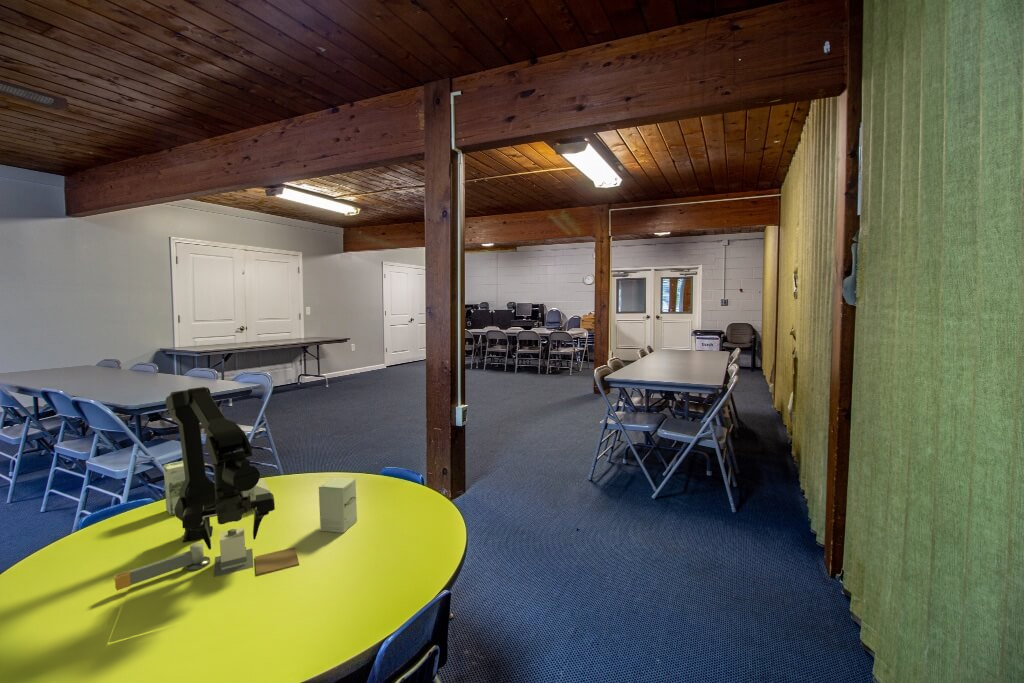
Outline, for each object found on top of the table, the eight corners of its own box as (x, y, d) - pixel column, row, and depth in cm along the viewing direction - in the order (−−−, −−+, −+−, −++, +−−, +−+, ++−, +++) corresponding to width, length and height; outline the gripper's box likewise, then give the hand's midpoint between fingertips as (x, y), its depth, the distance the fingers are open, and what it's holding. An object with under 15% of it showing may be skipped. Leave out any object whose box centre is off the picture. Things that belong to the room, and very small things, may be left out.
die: (232, 510, 148) (230, 492, 142) (250, 487, 155) (249, 468, 149) (259, 520, 148) (258, 501, 142) (276, 496, 155) (276, 477, 149)
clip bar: (202, 556, 117) (201, 541, 117) (205, 560, 115) (204, 545, 115) (115, 586, 105) (113, 570, 105) (117, 591, 103) (115, 574, 103)
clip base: (186, 564, 116) (186, 560, 116) (210, 558, 119) (210, 554, 119) (184, 574, 112) (184, 569, 112) (209, 568, 114) (209, 563, 114)
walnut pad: (255, 558, 118) (255, 556, 118) (295, 549, 123) (295, 546, 123) (256, 577, 110) (256, 574, 110) (299, 565, 115) (299, 563, 115)
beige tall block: (221, 559, 118) (219, 528, 117) (246, 553, 120) (244, 523, 119) (220, 570, 113) (218, 538, 112) (246, 564, 115) (245, 532, 115)
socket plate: (215, 558, 119) (215, 557, 119) (252, 549, 123) (252, 548, 123) (213, 578, 110) (213, 576, 110) (253, 568, 114) (253, 567, 114)
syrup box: (188, 504, 151) (185, 459, 150) (193, 510, 147) (189, 463, 145) (166, 510, 147) (162, 463, 145) (170, 516, 143) (167, 468, 141)
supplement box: (344, 533, 131) (342, 488, 130) (319, 531, 132) (317, 486, 131) (358, 521, 138) (356, 478, 137) (334, 519, 139) (332, 476, 138)
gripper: (177, 501, 103) (182, 571, 105) (274, 484, 112) (278, 548, 114) (182, 484, 113) (187, 548, 114) (271, 469, 122) (274, 529, 123)
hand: (232, 543), depth 116 cm, fingers open, 9 cm apart
